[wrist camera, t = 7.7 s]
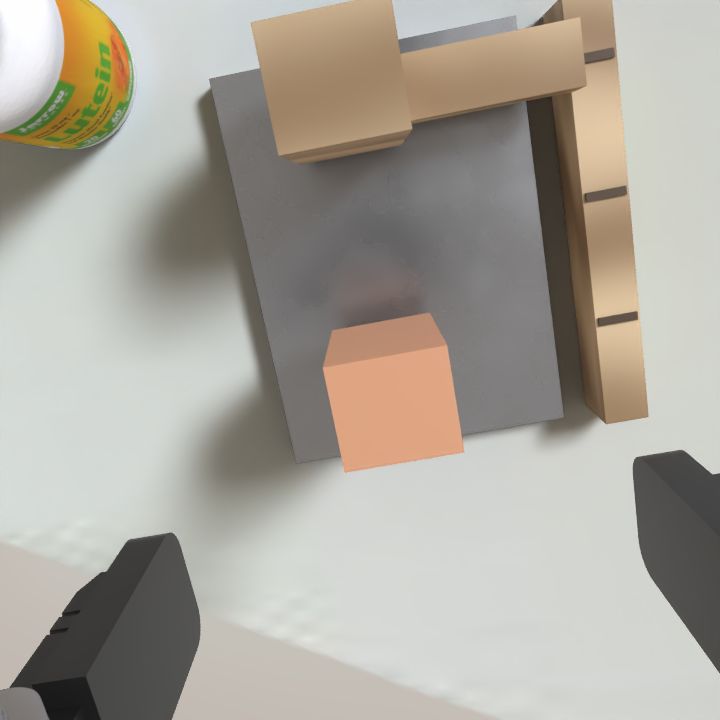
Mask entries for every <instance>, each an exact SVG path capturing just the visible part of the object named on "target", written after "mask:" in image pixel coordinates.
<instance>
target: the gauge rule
mask: <svg viewBox="0 0 720 720" xmlns="http://www.w3.org/2000/svg"><path fill="white" fill-rule="evenodd" d="M543 22H544V25H539V26H534V27H529V28H524V29H519V30H514V31H510V32H505V33H500V34H495V35H490V36H485V37H480V38H476V39H471V40H466V41H461V42H456V43H451V44H446V45H441V46H437V47H432V48H427V49H422V50H417V51H412V52H407V53H403V54H400V48H399V42H398V36H397V30H396V24H395V17H394V11H393V5H392V0H354V1H350V2H345V3H340V4H335V5H331V6H326V7H321V8H316V9H312V10H307V11H302V12H297V13H293V14H288V15H283V16H278V17H274V18H269V19H264V20H260V21H255V22H251V27H252V31H253V36H254V41H255V46H256V50H257V55H258V60H259V65H260V70H261V74H262V79H263V84H264V89H265V94H266V98H267V103H268V108H269V113H270V118H271V122H272V127H273V132H274V137H275V141H276V146H277V151H278V156H280V157H283V158H285V159H287V160H290V161H292V162H294V163H297V164H299V165H303V164H308V163H313V162H318V161H323V160H328V159H333V158H338V157H343V156H348V155H354V154H359V153H364V152H369V151H374V150H379V149H384V148H389V147H394V146H399V145H402V143H403V142H404V140H405V139H406V138H407V136H408V135H409V133H410V132H411V130H412V124H414V123H419V122H424V121H429V120H434V119H439V118H444V117H449V116H454V115H459V114H464V113H469V112H474V111H479V110H484V109H489V108H494V107H499V106H504V105H509V104H514V103H519V102H524V101H529V100H534V99H539V98H544V97H550V96H552V103H553V112H554V121H555V130H556V139H557V148H558V157H559V167H560V176H561V185H562V194H563V203H564V212H565V221H566V230H567V239H568V248H569V257H570V266H571V275H572V284H573V293H574V302H575V311H576V320H577V329H578V338H579V347H580V356H581V365H582V374H583V383H584V392H585V401H586V405H587V406H588V407H589V408H590V409H591V410H592V411H593V412H594V413H595V414H596V415H597V416H598V417H599V418H600V419H601V420H602V421H603V422H604V423H605V424H611V423H616V422H622V421H628V420H634V419H640V418H646V417H648V405H647V394H646V382H645V371H644V360H643V348H642V337H641V325H640V314H639V302H638V291H637V280H636V268H635V257H634V245H633V234H632V222H631V211H630V200H629V188H628V177H627V165H626V154H625V142H624V131H623V119H622V108H621V97H620V85H619V74H618V62H617V51H616V39H615V28H614V17H613V5H612V0H558V1H557V2H556V3H555V4H554V5H553V6H552V7H551V8H550V9H549V10H548V11H547V12H546V13H545V14H544V15H543Z"/></svg>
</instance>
